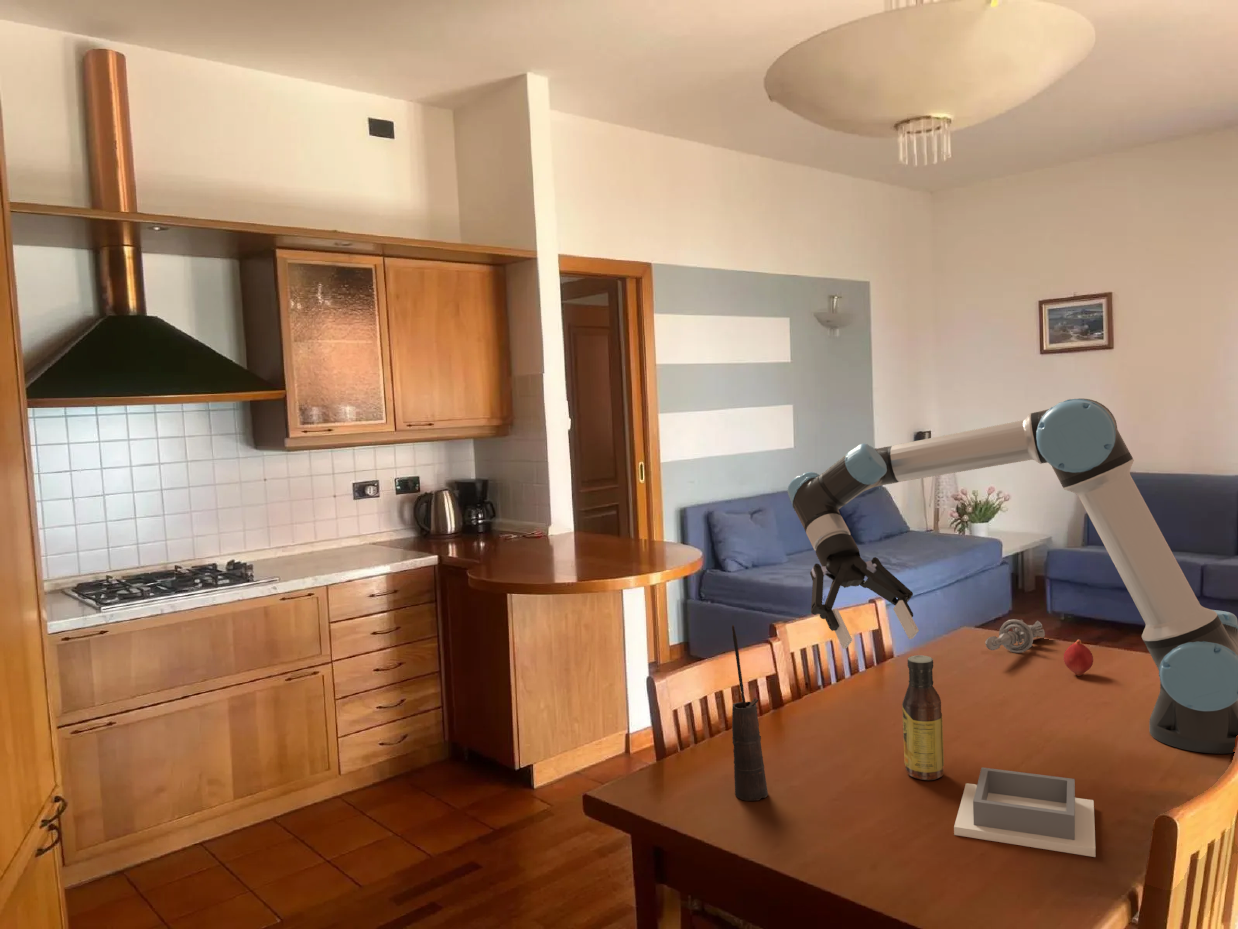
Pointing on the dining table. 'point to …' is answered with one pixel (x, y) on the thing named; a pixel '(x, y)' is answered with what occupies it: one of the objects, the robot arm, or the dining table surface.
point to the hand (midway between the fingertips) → (881, 639)
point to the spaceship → (1015, 636)
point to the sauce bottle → (922, 722)
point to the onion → (1078, 658)
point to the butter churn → (747, 745)
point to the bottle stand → (1027, 812)
